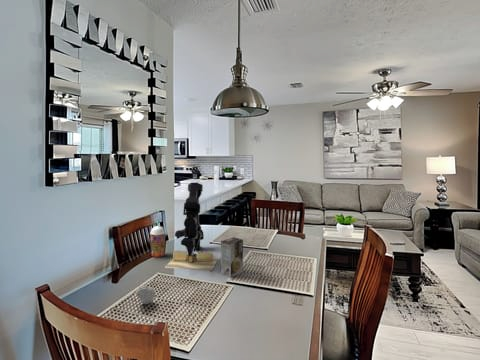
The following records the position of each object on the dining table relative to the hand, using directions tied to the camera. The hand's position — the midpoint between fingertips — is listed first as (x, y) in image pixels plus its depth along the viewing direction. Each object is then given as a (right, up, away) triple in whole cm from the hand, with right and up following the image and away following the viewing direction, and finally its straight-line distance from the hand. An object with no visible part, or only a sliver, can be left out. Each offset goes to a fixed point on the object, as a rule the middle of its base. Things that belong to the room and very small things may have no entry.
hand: (191, 253), depth 152 cm
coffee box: (+22, -6, -14) cm, 26 cm away
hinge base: (-4, -4, +1) cm, 5 cm away
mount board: (+1, -5, -3) cm, 6 cm away
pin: (0, -4, 0) cm, 4 cm away
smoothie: (-20, -4, +9) cm, 22 cm away
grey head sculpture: (-10, -8, -44) cm, 46 cm away
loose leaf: (+7, -4, 0) cm, 8 cm away
